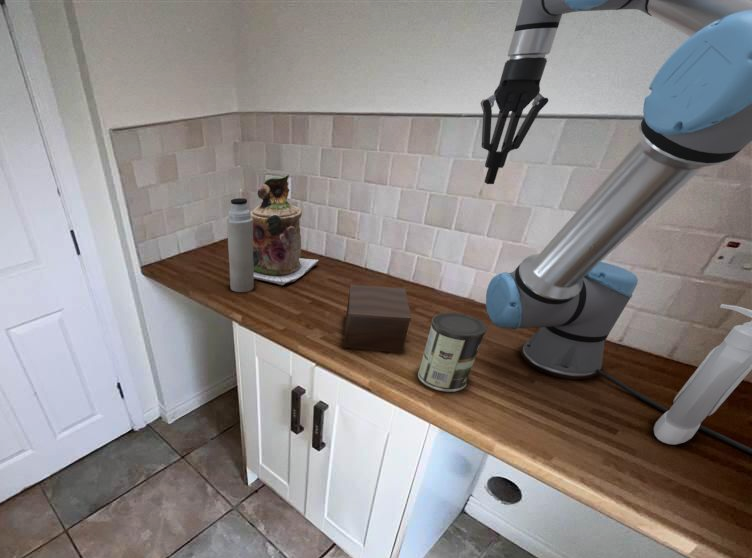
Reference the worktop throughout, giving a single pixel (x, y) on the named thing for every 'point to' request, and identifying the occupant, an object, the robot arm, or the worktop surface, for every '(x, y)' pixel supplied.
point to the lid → (378, 303)
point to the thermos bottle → (240, 246)
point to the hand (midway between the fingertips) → (489, 182)
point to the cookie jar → (277, 236)
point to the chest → (375, 333)
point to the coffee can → (451, 351)
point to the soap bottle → (709, 384)
